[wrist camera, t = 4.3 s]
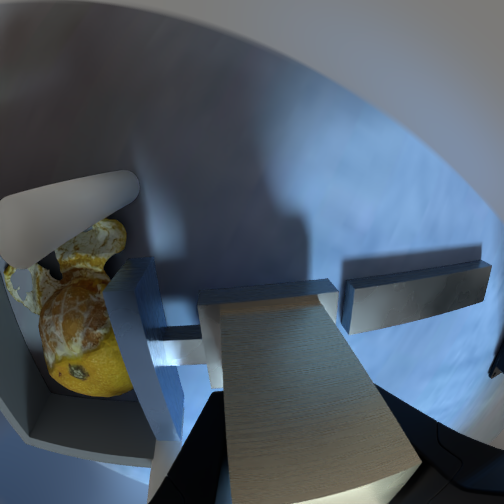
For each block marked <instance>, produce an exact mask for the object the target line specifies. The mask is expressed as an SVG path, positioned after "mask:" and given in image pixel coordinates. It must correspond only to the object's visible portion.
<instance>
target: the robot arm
mask: <svg viewBox="0 0 504 504" xmlns="http://www.w3.org/2000/svg"><path fill="white" fill-rule="evenodd" d="M500 373H503V374H504V342H503V344H502V346H501V349H500V351H499V353H498V356H497V358H496V360H495V362H494V365H493V367H492V369H491V371H490V373H489V377H490V378H491V379H492V378H494V377H495V376H497V375H499V374H500ZM374 385H375V386H376V388H377V390H378V391H379V393H380V394H381V396H382V397H383V399H384V401H385V402H386V404H387V405H388V407H389V409H390V410H391V412H392V413H393V415H394V417H395V418H396V420H397V422H398V423H399V425H400V426H401V428H402V430H403V431H404V433H405V435H406V436H407V438H408V440H409V441H410V443H411V445H412V446H413V448H414V450H415V451H416V453H417V455H418V456H419V458H420V460H421V461H422V463H421V465H420V466H419V467H418V468H417V470H416V471H415V472H414V474H413V475H412V476H411V477H410V479H409V480H408V481H407V482H406V483H405V485H404V486H403V487H402V488H401V489H400V491H399V492H398V493H397V494H396V495H395V496H394V497H393V498H392V500H391V501H390V502H389V503H388V504H504V450H501V449H497V448H495V447H492V446H490V445H487V444H485V443H482V442H479V441H477V440H474V439H472V438H470V437H467V436H465V435H463V434H460V433H458V432H456V431H454V430H453V429H451V428H449V427H447V426H445V425H443V424H442V423H440V422H437V421H436V420H434V419H433V418H431V417H429V416H427V415H426V414H424V413H422V412H421V411H419V410H417V409H416V408H414V407H412V406H410V405H409V404H407V403H405V402H404V401H402V400H400V399H399V398H397V397H396V396H394V395H392V394H391V393H389V392H387V391H386V390H384V389H382V388H381V387H379V386H378V385H376V384H374ZM148 504H232V498H231V487H230V476H229V464H228V452H227V438H226V424H225V408H224V391H216V392H212V393H211V395H210V397H209V399H208V401H207V403H206V404H205V406H204V408H203V410H202V412H201V414H200V416H199V417H198V419H197V421H196V423H195V425H194V427H193V428H192V430H191V432H190V434H189V436H188V437H187V439H186V441H185V443H184V445H183V446H182V448H181V450H180V452H179V454H178V455H177V457H176V459H175V461H174V462H173V464H172V466H171V468H170V469H169V471H168V473H167V476H165V478H164V480H163V481H162V483H161V485H160V487H159V488H158V490H157V491H156V493H155V494H154V496H153V498H152V499H151V500H150V502H149V503H148Z"/></svg>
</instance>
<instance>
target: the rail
mask: <svg viewBox="0 0 504 504" xmlns="http://www.w3.org/2000/svg"><path fill="white" fill-rule="evenodd" d="M491 268H492V265H490V264H488V263H486V262H484V261H482V260H479V261H473V262H467V263H461V264H455V265H449V266H443V267H436V268H430V269H423V270H417V271H410V272H403V273H396V274H389V275H381V276H374V277H366V278H358V279H350V280H346V284H345V295H344V305H343V314H342V323H341V324H342V326H343V327H344V329H345V330H346V332H347V333H348V334H349V335H352V334H357V333H362V332H368V331H372V330H377V329H382V328H387V327H391V326H395V325H400V324H404V323H408V322H412V321H416V320H420V319H424V318H428V317H432V316H436V315H439V314H443V313H446V312H450V311H453V310H457V309H460V308H464V307H467V306H470V305H473V304H476V303H480V302H483V300H484V296H485V293H486V289H487V285H488V281H489V277H490V272H491Z"/></svg>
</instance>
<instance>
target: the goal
mask: <svg viewBox="0 0 504 504" xmlns="http://www.w3.org/2000/svg"><path fill="white" fill-rule="evenodd" d="M139 189H140V185H139V181H138V178H137V177H136V175H135V174H134V173H132V172H131V171H128V170H119V171H113V172H107V173H102V174H97V175H91V176H86V177H82V178H77V179H72V180H67V181H63V182H59V183H54V184H50V185H46V186H42V187H38V188H34V189H30V190H26V191H23V192H19V193H16V194H12V195H9V196H6V197H4V198H3V199H2V200H1V201H0V255H1V257H2V258H3V259H4V260H5V261H6V262H7V263H8V264H9V265H10V266H12V267H14V268H17V269H27V268H29V267H31V266H33V265H34V264H35V263H37V262H38V261H40V260H41V259H42V258H44V257H45V256H47V255H48V254H50V253H51V252H52V251H54V250H55V249H57V248H58V247H60V246H61V245H63V244H64V243H66V242H67V241H69V240H70V239H72V238H73V237H75V236H77V235H78V234H80V233H81V232H83V231H84V230H86V229H88V228H89V227H91V226H92V225H94V224H96V223H97V222H99V221H101V220H102V219H104V218H106V217H107V216H109V215H111V214H112V213H114V212H116V211H117V210H119V209H121V208H123V207H124V206H126V205H128V204H130V203H131V202H133V201H134V200H135V199H136V197H137V196H138V194H139ZM0 410H1V412H2V413H3V414H4V416H5V417H6V419H7V420H8V421H9V423H10V424H11V425H12V427H13V428H14V429H15V431H16V432H17V433H18V434H19V436H20V437H21V438H22V439H23V441H24V442H25V443H26V444H28V445H32V446H35V447H38V448H41V449H45V450H48V451H52V452H56V453H60V454H64V455H68V456H73V457H77V458H82V459H87V460H93V461H98V462H104V463H111V464H118V465H126V466H136V467H147V468H151V472H150V480H149V490H148V499H147V504H148V503H149V502H150V500H151V499H152V498H153V496H154V494H155V493H156V491H157V490H158V488H159V487H160V485H161V483H162V481H163V480H164V478H165V476H167V473H168V471H169V469H170V468H171V466H172V464H173V462H174V461H175V459H176V457H177V455H178V454H179V452H180V450H181V448H182V433H183V419H184V407H183V415H182V428H181V441H157V439H156V437H155V435H154V433H153V431H152V429H151V427H150V425H149V422H148V420H147V418H146V416H145V414H144V411H143V409H142V407H141V404H140V402H130V401H113V400H100V399H90V398H81V397H72V396H65V395H58V394H52V393H51V392H50V391H49V389H48V387H47V385H46V384H45V382H44V380H43V378H42V376H41V374H40V372H39V370H38V368H37V366H36V364H35V362H34V360H33V358H32V356H31V354H30V352H29V350H28V348H27V345H26V343H25V341H24V339H23V336H22V334H21V331H20V329H19V327H18V324H17V322H16V319H15V316H14V314H13V311H12V308H11V305H10V303H9V300H8V297H7V294H6V291H5V288H4V284H3V281H2V278H1V274H0Z"/></svg>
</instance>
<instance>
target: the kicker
mask: <svg viewBox="0 0 504 504" xmlns="http://www.w3.org/2000/svg"><path fill="white" fill-rule="evenodd" d="M102 293H103V297H104V301H105V304H106V308H107V311H108V315H109V318H110V322H111V325H112V328H113V332H114V335H115V338H116V341H117V344H118V347H119V350H120V353H121V356H122V359H123V361H124V364H125V367H126V370H127V372H128V375H129V377H130V380H131V383H132V385H133V388H134V390H135V393H136V395H137V397H138V400H139V402H140V404H141V407H142V409H143V411H144V414H145V416H146V418H147V420H148V422H149V425H150V427H151V429H152V431H153V433H154V435H155V437H156V439H157V441H181V428H182V415H183V403H184V393H183V390H182V386H181V382H180V379H179V375H178V371H177V367H176V365H195V364H207V368H208V373H209V379H210V384H211V389H214V388H223V391H224V408H225V424H226V438H227V452H228V464H229V476H230V487H231V498H232V504H388V503H389V502H390V501H391V500H392V498H393V497H394V496H395V495H396V494H397V493H398V492H399V491H400V489H401V488H402V487H403V486H404V485H405V483H406V482H407V481H408V480H409V479H410V477H411V476H412V475H413V474H414V472H415V471H416V470H417V468H418V467H419V466H420V465H421V463H422V461H421V460H420V458H419V456H418V455H417V453H416V451H415V450H414V448H413V446H412V445H411V443H410V441H409V440H408V438H407V436H406V435H405V433H404V431H403V430H402V428H401V426H400V425H399V423H398V422H397V420H396V418H395V417H394V415H393V413H392V412H391V410H390V409H389V407H388V405H387V404H386V402H385V401H384V399H383V397H382V396H381V394H380V393H379V391H378V390H377V388H376V386H375V385H374V383H373V382H372V380H371V379H370V377H369V375H368V374H367V372H366V371H365V369H364V368H363V366H362V364H361V363H360V361H359V360H358V358H357V357H356V355H355V354H354V352H353V351H352V349H351V348H350V346H349V344H348V343H347V341H346V340H345V338H344V337H343V335H342V334H341V332H340V331H339V329H338V328H337V326H336V317H337V307H338V296H339V291H338V290H337V289H336V288H335V286H334V285H333V284H332V283H331V282H330V280H329V279H328V278H327V279H318V280H309V281H299V282H290V283H279V284H269V285H258V286H247V287H235V288H223V289H210V290H199V296H198V305H197V306H198V313H199V320H200V325H187V326H168V327H167V325H166V320H165V316H164V311H163V306H162V301H161V296H160V290H159V285H158V279H157V273H156V268H155V261H154V257H143V258H130V259H128V260H127V261H126V262H125V263H124V265H123V266H122V267H121V268H120V270H119V271H118V272H117V273H116V275H115V276H114V277H113V279H112V280H111V281H110V282H109V284H108V285H107V286H106V288H105V289H104V290H103V292H102Z"/></svg>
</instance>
